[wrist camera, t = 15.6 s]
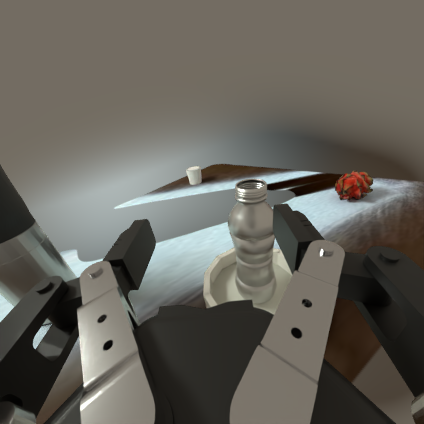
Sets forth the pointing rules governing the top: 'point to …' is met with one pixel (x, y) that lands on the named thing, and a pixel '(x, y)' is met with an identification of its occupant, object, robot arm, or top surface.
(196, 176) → the white cup
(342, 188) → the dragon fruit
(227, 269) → the bowl
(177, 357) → the robot arm
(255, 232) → the plastic bottle
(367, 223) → the top surface
